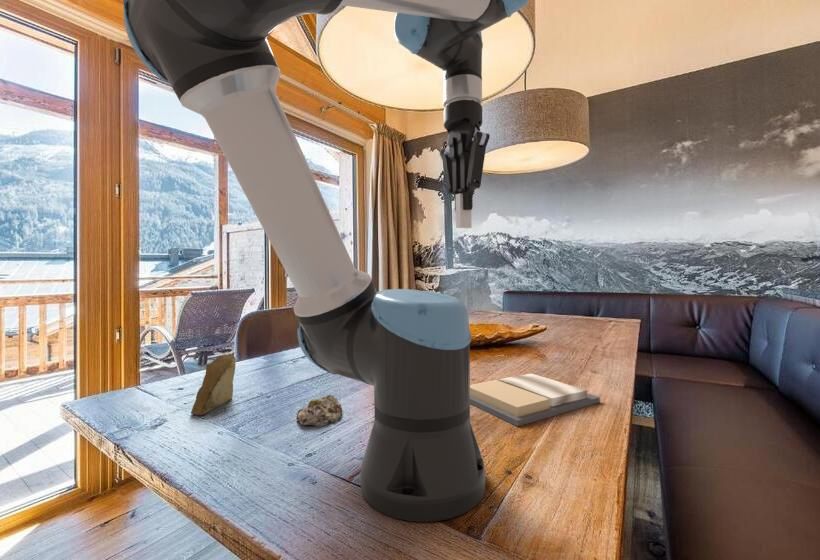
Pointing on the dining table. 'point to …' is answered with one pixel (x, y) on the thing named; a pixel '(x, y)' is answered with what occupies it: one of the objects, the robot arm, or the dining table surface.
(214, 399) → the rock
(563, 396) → the book
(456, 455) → the robot arm
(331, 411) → the mineral rock
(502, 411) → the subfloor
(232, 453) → the dining table surface
